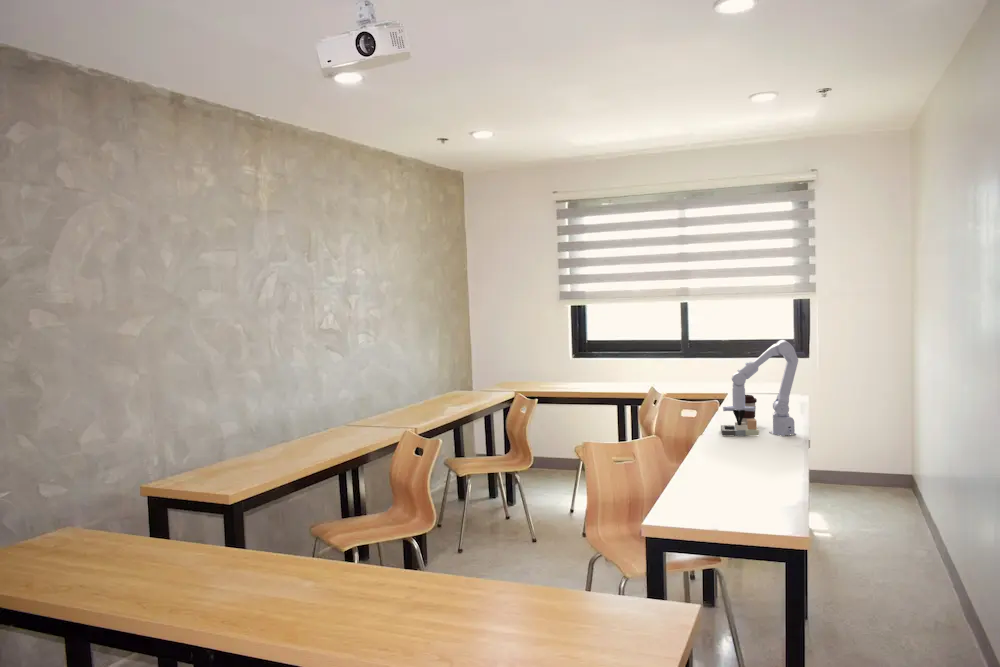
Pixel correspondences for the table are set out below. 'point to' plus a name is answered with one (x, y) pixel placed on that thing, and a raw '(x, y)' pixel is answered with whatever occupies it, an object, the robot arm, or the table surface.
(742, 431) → the gray recessed tray
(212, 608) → the table surface
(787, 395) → the robot arm
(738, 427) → the channel walls
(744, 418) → the coffee cup
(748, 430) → the pad
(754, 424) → the terracotta block
